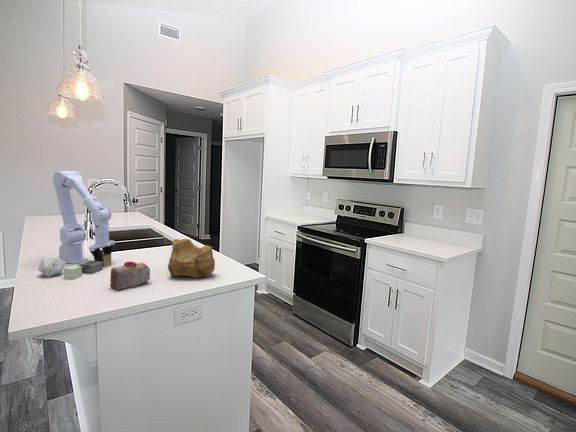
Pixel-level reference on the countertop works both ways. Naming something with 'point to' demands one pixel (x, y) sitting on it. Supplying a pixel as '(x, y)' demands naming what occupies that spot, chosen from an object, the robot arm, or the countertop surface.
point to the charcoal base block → (91, 267)
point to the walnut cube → (106, 260)
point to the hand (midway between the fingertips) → (102, 262)
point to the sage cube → (72, 272)
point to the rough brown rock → (190, 259)
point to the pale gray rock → (51, 265)
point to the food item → (129, 275)
